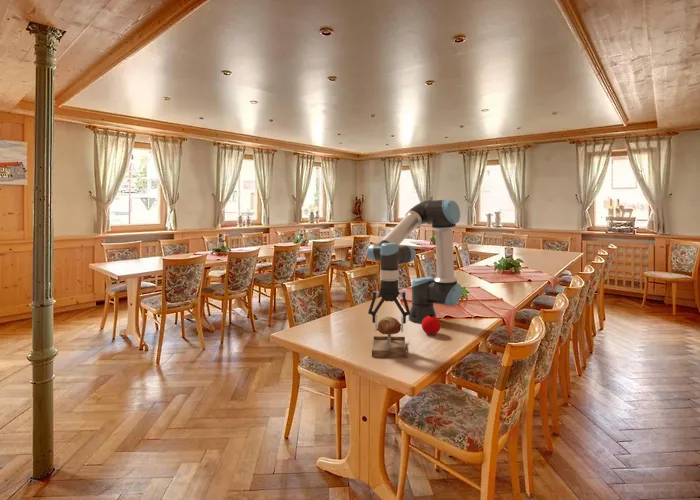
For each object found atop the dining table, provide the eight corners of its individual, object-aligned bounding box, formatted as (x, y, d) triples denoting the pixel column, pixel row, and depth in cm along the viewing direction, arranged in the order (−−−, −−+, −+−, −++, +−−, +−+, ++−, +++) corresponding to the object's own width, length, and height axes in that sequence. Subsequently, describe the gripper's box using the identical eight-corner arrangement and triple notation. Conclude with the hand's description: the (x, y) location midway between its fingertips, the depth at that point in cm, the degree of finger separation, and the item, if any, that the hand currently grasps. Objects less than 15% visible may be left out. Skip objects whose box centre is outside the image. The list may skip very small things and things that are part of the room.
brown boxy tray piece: (404, 342, 173) (404, 326, 173) (406, 357, 156) (406, 339, 155) (373, 341, 175) (373, 325, 174) (371, 356, 157) (371, 338, 156)
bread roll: (379, 335, 170) (372, 319, 169) (400, 325, 170) (393, 309, 169) (383, 343, 160) (375, 326, 159) (405, 332, 160) (397, 315, 159)
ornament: (439, 338, 179) (439, 317, 178) (419, 336, 182) (420, 315, 181) (441, 332, 188) (441, 312, 187) (423, 330, 191) (423, 310, 190)
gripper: (416, 278, 165) (415, 328, 167) (362, 277, 167) (363, 327, 169) (417, 281, 157) (416, 333, 159) (361, 280, 160) (361, 332, 162)
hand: (389, 330), depth 164 cm, fingers closed on bread roll, 10 cm apart
